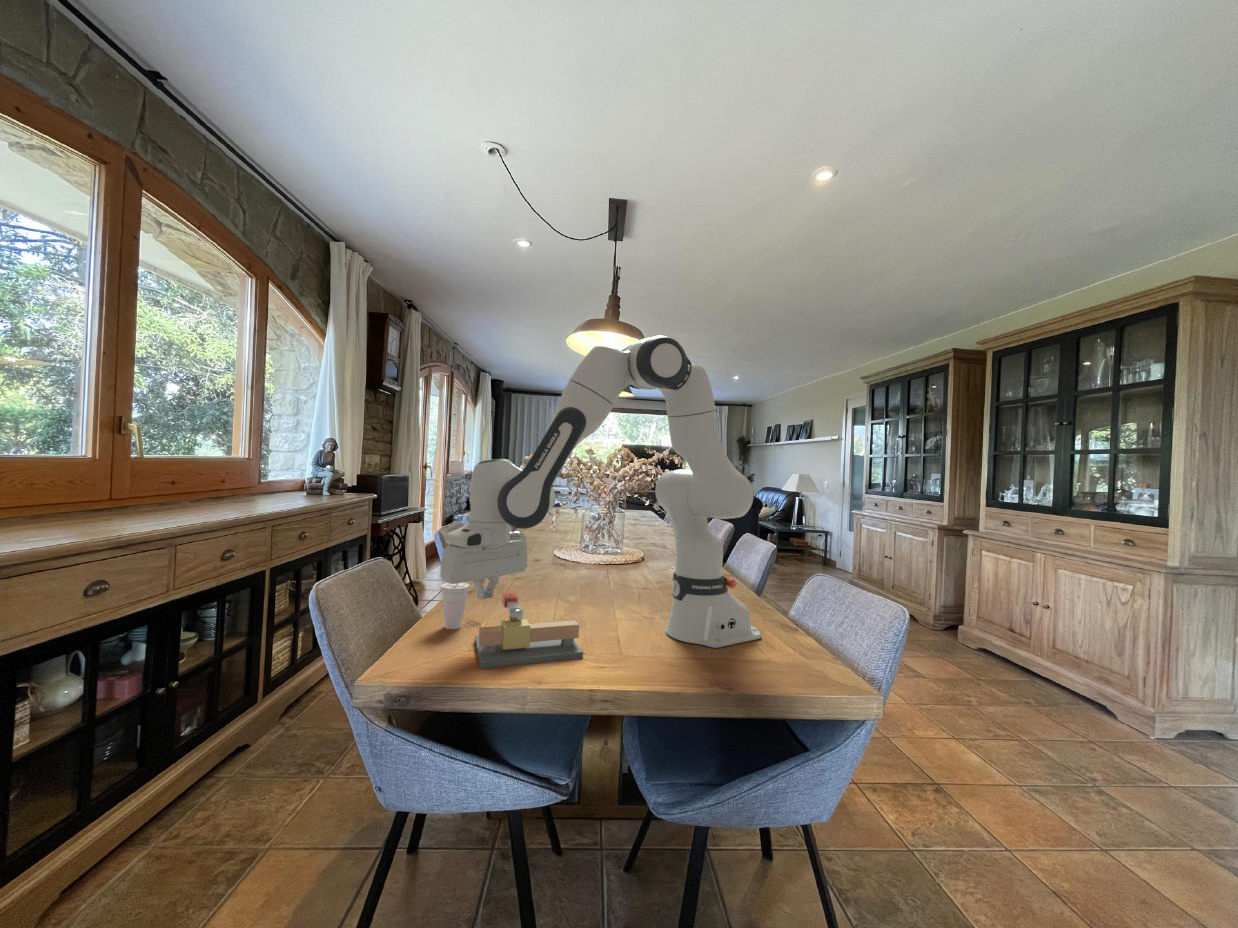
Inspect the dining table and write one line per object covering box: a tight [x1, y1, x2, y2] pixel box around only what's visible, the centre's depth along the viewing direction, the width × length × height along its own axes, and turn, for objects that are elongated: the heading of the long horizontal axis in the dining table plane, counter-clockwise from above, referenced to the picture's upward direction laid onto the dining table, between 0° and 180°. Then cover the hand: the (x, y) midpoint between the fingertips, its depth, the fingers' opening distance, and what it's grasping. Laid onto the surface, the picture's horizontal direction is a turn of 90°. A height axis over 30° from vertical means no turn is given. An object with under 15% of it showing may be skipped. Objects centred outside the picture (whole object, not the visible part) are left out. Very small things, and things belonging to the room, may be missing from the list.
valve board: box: [474, 618, 584, 669], centre depth 102 cm, size 20×14×7 cm
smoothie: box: [440, 582, 470, 630], centre depth 114 cm, size 6×6×14 cm
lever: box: [500, 591, 524, 621], centre depth 104 cm, size 13×3×2 cm, turn 21°
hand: (485, 598), depth 105 cm, fingers closed
